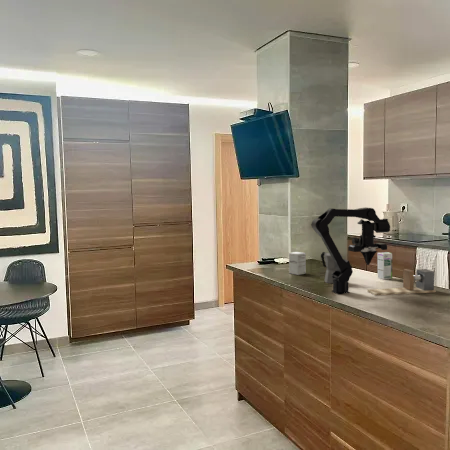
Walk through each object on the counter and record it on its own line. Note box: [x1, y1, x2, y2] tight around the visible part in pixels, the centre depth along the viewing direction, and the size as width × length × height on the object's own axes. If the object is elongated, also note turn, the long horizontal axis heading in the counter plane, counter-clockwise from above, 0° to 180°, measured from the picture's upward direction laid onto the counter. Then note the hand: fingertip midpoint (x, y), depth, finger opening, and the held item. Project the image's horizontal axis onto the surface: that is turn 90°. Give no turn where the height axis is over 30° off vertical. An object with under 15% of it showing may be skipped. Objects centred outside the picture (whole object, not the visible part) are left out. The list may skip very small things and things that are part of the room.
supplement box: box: [288, 251, 307, 276], centre depth 268 cm, size 7×7×13 cm
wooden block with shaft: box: [402, 268, 423, 290], centre depth 217 cm, size 12×6×9 cm, turn 97°
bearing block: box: [415, 268, 435, 291], centre depth 217 cm, size 5×7×9 cm
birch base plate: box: [367, 286, 436, 296], centre depth 216 cm, size 30×8×1 cm, turn 97°
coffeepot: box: [320, 251, 344, 284], centre depth 243 cm, size 15×9×18 cm, turn 33°
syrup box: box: [376, 251, 393, 280], centre depth 248 cm, size 6×6×14 cm
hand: (367, 264), depth 219 cm, fingers closed
